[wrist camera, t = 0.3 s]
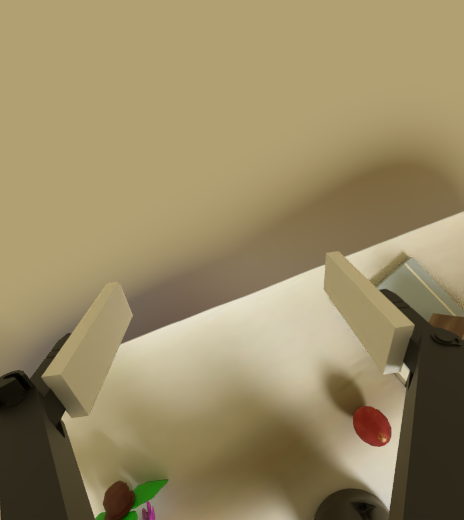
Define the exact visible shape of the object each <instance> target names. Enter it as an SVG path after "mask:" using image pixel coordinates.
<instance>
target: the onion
mask: <svg viewBox="0 0 464 520" xmlns="http://www.w3.org/2000/svg"><path fill="white" fill-rule="evenodd" d="M353 425H354V428H355V431H356V433H357V434H358V436H359V437H360V438H361V439H362V440H363V441H364V442H366V443H368V444H370V445H371V446H377V447H380V446H384V445H386V444H387V443H388V442H389V441H390V438H391V426H390V424H389V422H388V419H387V418H386V417H385V416H384V415H383V414H382V413H381V412H380V411H379V410H377V409H375V408H373V407H369V406H364V407H361V408H359V409H357V410H356V411H355V413H354V416H353Z"/></svg>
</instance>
